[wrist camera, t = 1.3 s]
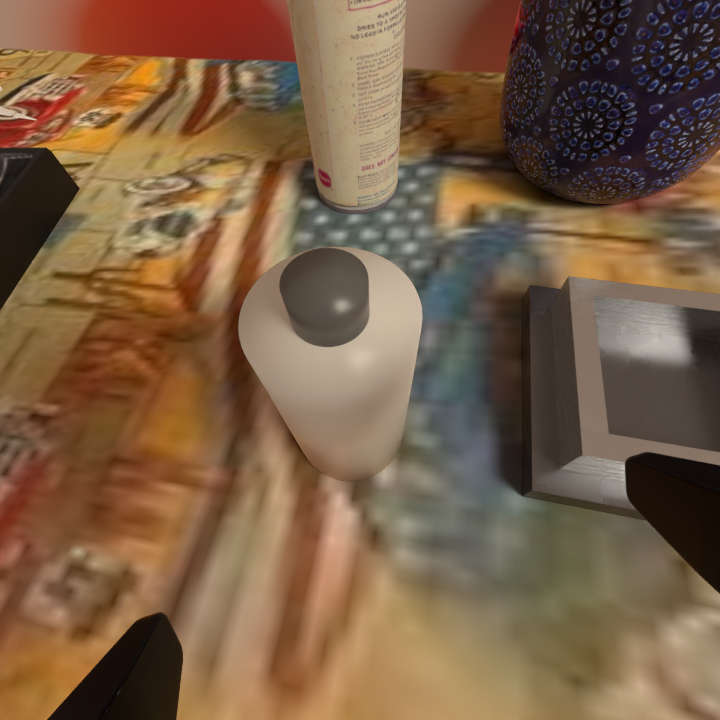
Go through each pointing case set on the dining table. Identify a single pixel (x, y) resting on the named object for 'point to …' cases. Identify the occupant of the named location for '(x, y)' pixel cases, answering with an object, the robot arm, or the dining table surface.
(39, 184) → the food platter
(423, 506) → the dining table surface
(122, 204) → the dining table surface
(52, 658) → the dining table surface
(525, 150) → the planter
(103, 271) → the dining table surface
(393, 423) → the white bottle
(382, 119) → the aerosol can
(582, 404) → the grey square tray
